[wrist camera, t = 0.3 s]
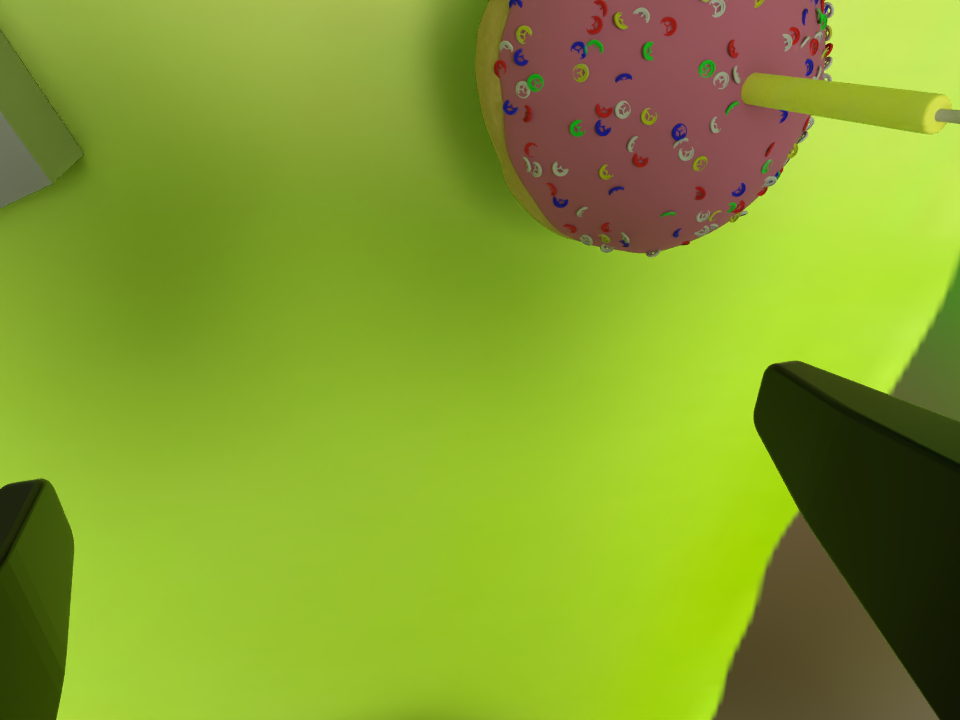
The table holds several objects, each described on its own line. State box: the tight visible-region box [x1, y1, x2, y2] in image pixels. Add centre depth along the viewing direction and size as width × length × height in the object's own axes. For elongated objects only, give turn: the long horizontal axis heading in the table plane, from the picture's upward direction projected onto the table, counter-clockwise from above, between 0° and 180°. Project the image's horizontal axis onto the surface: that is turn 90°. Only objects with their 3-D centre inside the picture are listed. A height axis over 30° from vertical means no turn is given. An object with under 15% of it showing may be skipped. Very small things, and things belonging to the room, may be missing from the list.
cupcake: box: [475, 0, 960, 257], centre depth 17 cm, size 9×8×12 cm
